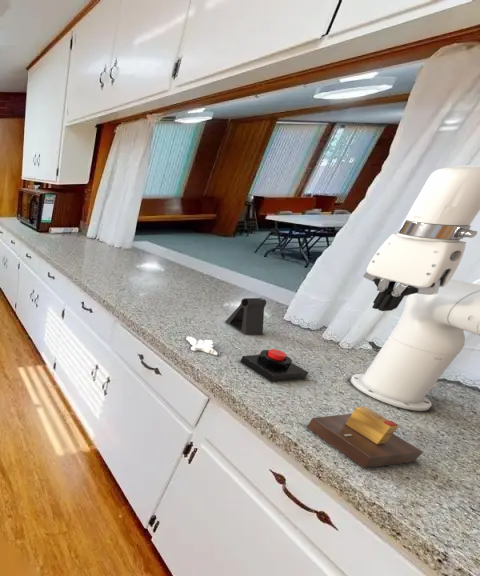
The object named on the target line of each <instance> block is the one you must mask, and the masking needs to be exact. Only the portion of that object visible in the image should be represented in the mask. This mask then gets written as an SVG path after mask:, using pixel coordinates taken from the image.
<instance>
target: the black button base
mask: <svg viewBox="0 0 480 576" xmlns="http://www.w3.org/2000/svg"><path fill="white" fill-rule="evenodd" d="M269 350H270V349H262V350H261V352H260V353H259V354H251V355H250V354H249V355H242V357H241V359H240V363H241V364H243V365H244V366H246V367H247V368H248V369H250V370H252V371H254V373H257V374H258V375H260V377H263V378H264V379H266V380H267V381H269V382H280V381H281V382H282V381H291V380H304V379H306V378H307V376H308V374H309V371H307V370H305V369H303V368H302V367H300V366H298V365H297V364H295V363H293V360H292V358H291V357H289V356H288V355H287V356H286V358H285V360H284V361H279V360H275V359H273V358H271V357H269V356H268V352H269Z"/></svg>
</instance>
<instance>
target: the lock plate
mask: <svg viewBox="0 0 480 576" xmlns="http://www.w3.org/2000/svg"><path fill="white" fill-rule="evenodd" d="M351 415H352V413H345V414H337V415H326V416H319V417H318V416H316V417H312V418H311V419H310V421H309V422H308V424H307V426H306V428H307V429H309V430H310V431H311V432H313V433H314V434H315V435H317V436H318V437H320V438H321V439H323V440H324V441H325V442H327V443H328V444H330V446H332V447H333V448H335V449H337V451H339V452H341V453H342V454H344V456H347V457H348V458H349V459H351V460H352V461H353V462H355V463H356V464H357V465H359V466H360V467H362V468H363V469H366V468H375V467H381V466H382V467H384V466H391V465H399V464H405V463H407V464H408V463H414V462H416V461H417V460H418V459H419V458H420V456H421V455H423V453H424V451H423V450H421V449H420V448H418V447H417V446H415V445H413V444H411V443H409V442H408V441H406V440H404V439H403V438H402V437H399V436H398V435H396V434H394V433H393V434H392V436H391V437H390V438H389V439H388V441H387V442H386V443H385V444H376V443H374V442H373V441H371V440H369V439H368V438H366V437H365V436H363V435H362V434H360V433H359V432H357V431H355V430H354V429H352V428H351V427H349V426H348V425H346V422H347V421H348V419H349V418H350V416H351Z"/></svg>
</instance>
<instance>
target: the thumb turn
mask: <svg viewBox="0 0 480 576" xmlns="http://www.w3.org/2000/svg"><path fill="white" fill-rule="evenodd" d="M351 414H352V415H351V416H350V418H349V419H348V421H347V422H346V425H348V426H349V427H351V428H352V429H354V430H355V431H357V432H359V433H360V434H362V435H363V436H365V437H366V438H368V439H369V440H371V441H373V442H374V443H376V444H385V443H386V442H387V441H388V439H389V438H390V437H391V436H392V434H394V433H395V432H396V430H397V429H398V428H399V427H400V426H399V425H398V423H396V422H395V421H393V420H389V419H388V418H386V417H384V416H383V415H381V414H378V413H376V412H375V411H373V410H371V409H370V408H369V407H366V406H357V407H355V409H354V411H353V412H352V413H351Z"/></svg>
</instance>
